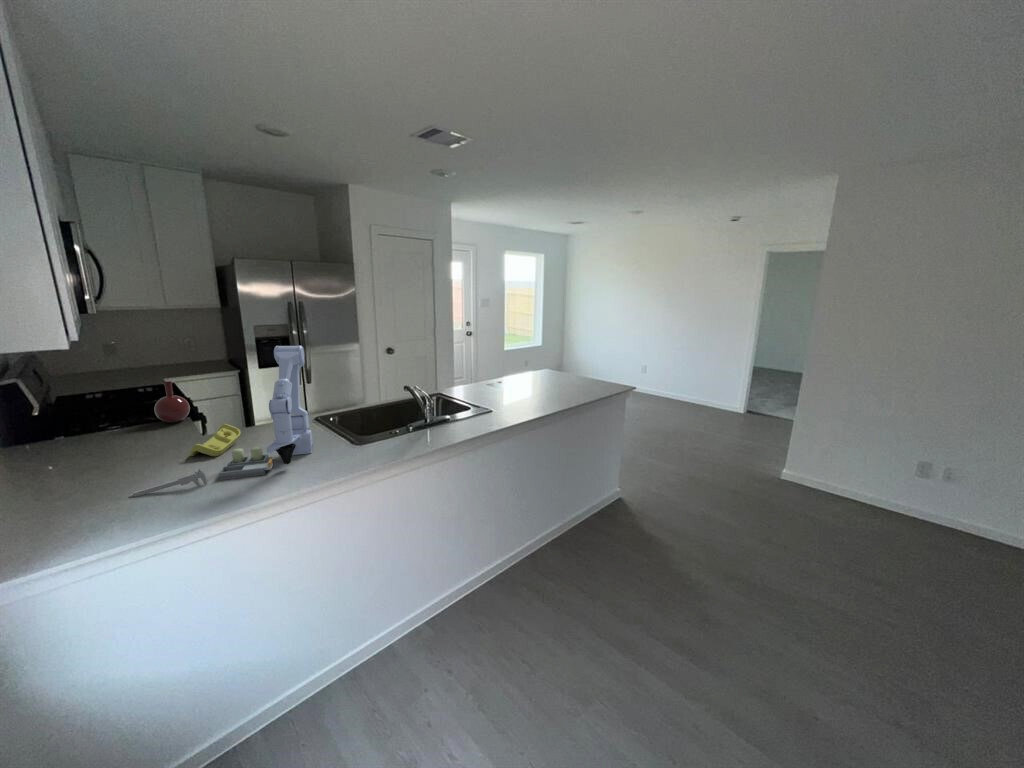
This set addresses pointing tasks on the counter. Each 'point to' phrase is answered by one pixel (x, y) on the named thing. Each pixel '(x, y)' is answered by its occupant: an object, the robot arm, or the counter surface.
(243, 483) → the counter surface
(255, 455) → the housing
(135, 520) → the counter surface
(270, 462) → the lid
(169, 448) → the counter surface
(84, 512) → the counter surface
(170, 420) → the round-bottom flask
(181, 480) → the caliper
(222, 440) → the plastic component
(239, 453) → the peg
